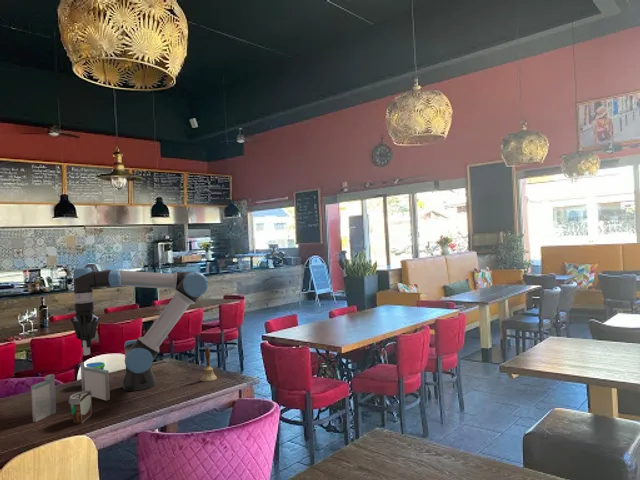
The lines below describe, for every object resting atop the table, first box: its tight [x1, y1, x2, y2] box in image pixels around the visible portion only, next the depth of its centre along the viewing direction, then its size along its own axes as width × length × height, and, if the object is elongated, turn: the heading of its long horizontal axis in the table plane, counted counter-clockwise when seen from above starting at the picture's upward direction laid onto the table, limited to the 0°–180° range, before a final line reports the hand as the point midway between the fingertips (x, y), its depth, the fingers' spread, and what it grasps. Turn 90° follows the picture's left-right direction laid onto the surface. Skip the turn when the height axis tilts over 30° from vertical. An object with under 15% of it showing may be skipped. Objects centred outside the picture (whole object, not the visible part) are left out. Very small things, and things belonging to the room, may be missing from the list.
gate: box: [83, 366, 111, 401], centre depth 214 cm, size 2×18×13 cm, turn 54°
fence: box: [30, 361, 87, 423], centre depth 206 cm, size 2×32×16 cm, turn 170°
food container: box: [68, 390, 92, 425], centre depth 190 cm, size 12×6×10 cm, turn 5°
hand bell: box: [199, 347, 218, 382], centre depth 239 cm, size 8×8×16 cm
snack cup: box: [86, 361, 106, 370], centre depth 241 cm, size 16×10×10 cm
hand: (86, 354), depth 213 cm, fingers closed
